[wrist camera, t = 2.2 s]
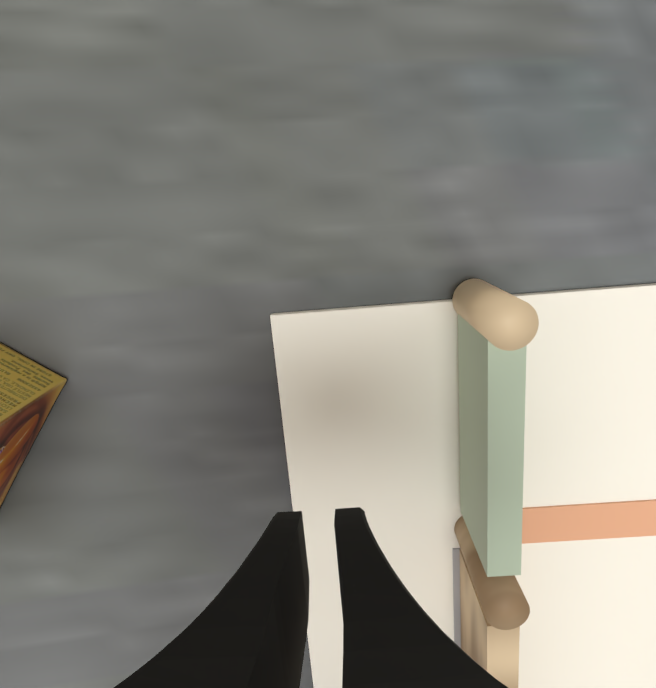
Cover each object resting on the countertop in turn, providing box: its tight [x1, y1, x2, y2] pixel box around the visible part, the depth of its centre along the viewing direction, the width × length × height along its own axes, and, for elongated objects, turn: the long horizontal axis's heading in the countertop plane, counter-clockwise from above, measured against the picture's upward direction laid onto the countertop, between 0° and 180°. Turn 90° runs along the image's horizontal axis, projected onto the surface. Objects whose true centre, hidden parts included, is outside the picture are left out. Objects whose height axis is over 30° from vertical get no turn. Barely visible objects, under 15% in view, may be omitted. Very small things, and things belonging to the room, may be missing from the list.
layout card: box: [270, 283, 656, 688], centre depth 23 cm, size 23×20×1 cm
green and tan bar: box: [452, 279, 539, 577], centre depth 18 cm, size 10×2×4 cm, turn 5°
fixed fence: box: [454, 516, 530, 688], centre depth 21 cm, size 12×2×5 cm, turn 5°
